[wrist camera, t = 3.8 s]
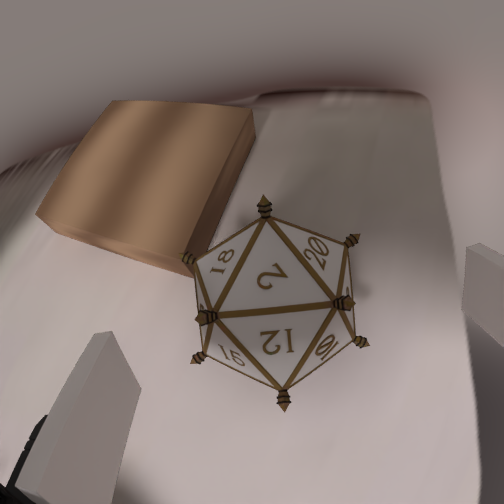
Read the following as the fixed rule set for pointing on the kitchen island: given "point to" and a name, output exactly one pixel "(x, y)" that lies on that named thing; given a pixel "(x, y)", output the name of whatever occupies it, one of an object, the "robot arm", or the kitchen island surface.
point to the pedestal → (151, 180)
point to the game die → (275, 301)
